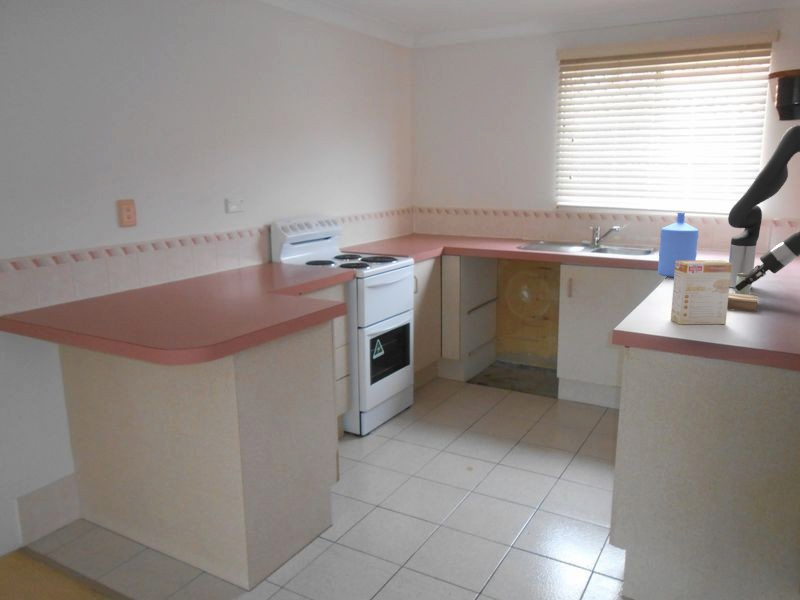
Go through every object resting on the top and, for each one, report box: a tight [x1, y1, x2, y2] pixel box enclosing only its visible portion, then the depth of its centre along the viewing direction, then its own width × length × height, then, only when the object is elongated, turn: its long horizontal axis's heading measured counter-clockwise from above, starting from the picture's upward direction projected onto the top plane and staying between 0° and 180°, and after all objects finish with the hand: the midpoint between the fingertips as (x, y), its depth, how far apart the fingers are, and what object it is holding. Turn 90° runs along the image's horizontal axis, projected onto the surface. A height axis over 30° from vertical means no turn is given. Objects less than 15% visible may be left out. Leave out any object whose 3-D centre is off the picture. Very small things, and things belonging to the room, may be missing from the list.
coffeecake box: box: [670, 259, 732, 325], centre depth 207 cm, size 15×7×20 cm, turn 92°
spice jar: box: [734, 273, 752, 295], centre depth 241 cm, size 5×5×10 cm
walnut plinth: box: [727, 292, 758, 313], centre depth 230 cm, size 10×10×4 cm
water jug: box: [657, 212, 699, 278], centre depth 296 cm, size 16×16×28 cm
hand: (737, 287), depth 242 cm, fingers closed on spice jar, 4 cm apart
